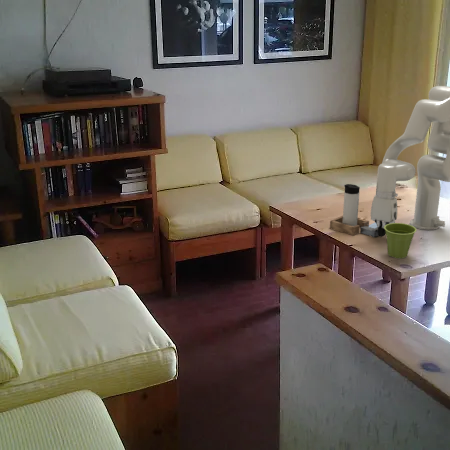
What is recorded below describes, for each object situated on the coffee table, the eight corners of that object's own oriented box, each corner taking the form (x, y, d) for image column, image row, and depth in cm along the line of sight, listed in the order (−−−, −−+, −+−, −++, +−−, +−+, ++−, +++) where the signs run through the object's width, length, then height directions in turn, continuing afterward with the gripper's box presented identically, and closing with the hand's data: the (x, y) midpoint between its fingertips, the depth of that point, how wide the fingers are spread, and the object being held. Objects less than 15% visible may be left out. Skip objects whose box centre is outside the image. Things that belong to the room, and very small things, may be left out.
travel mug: (338, 227, 246) (341, 183, 239) (352, 225, 248) (355, 182, 241) (345, 231, 241) (348, 187, 234) (359, 230, 242) (362, 185, 235)
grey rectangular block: (379, 234, 237) (380, 227, 235) (374, 237, 234) (374, 230, 233) (364, 230, 241) (365, 223, 240) (359, 233, 239) (359, 226, 237)
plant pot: (375, 252, 219) (377, 225, 215) (399, 247, 224) (402, 221, 220) (395, 263, 209) (398, 235, 205) (420, 258, 214) (423, 230, 210)
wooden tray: (368, 228, 244) (369, 221, 243) (354, 235, 236) (354, 227, 235) (344, 221, 252) (345, 214, 251) (329, 228, 245) (330, 220, 244)
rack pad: (398, 227, 245) (398, 226, 245) (386, 233, 238) (387, 232, 238) (378, 221, 252) (378, 220, 251) (366, 227, 245) (366, 226, 245)
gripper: (406, 195, 225) (402, 237, 231) (373, 188, 234) (370, 229, 241) (397, 199, 220) (393, 242, 226) (364, 192, 229) (361, 233, 236)
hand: (381, 235), depth 233 cm, fingers closed
